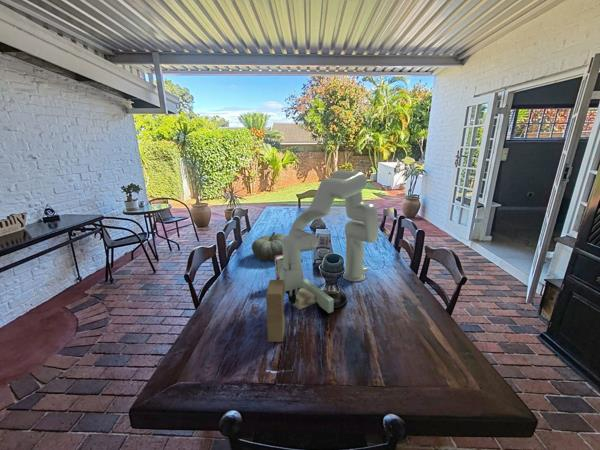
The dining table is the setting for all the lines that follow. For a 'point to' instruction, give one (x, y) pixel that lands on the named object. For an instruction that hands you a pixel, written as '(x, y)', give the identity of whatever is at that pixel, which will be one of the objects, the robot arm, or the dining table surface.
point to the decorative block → (275, 310)
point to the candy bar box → (278, 265)
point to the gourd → (268, 247)
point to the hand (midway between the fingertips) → (292, 302)
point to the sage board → (320, 296)
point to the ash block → (304, 299)
